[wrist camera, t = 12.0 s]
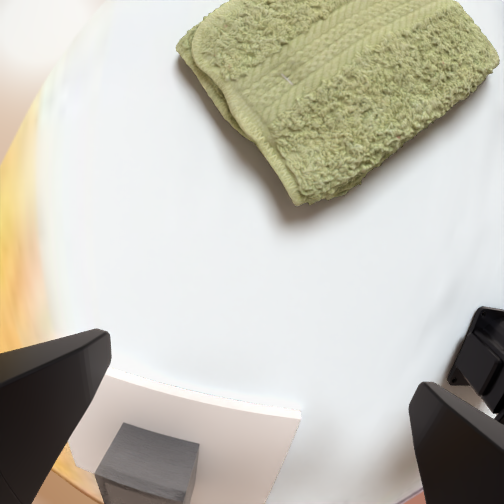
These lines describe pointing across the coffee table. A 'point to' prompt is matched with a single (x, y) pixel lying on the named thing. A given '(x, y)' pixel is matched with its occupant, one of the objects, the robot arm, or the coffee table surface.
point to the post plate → (192, 434)
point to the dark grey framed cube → (147, 468)
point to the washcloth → (335, 80)
